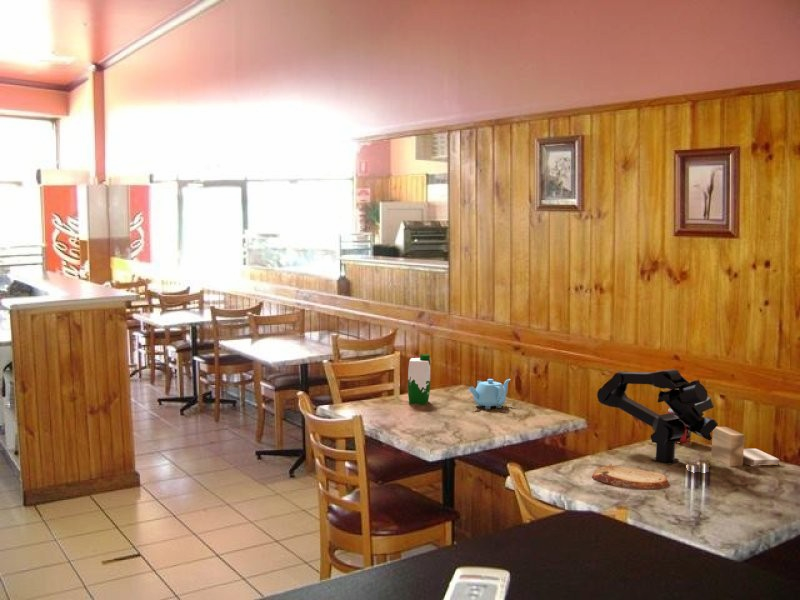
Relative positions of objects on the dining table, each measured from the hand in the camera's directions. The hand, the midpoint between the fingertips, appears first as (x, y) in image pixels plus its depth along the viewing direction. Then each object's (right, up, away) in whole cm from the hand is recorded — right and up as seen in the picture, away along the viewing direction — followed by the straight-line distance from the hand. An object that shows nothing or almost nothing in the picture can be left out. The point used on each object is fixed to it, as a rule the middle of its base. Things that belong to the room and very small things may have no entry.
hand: (710, 439), depth 276 cm
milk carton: (-92, +2, +80) cm, 122 cm away
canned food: (-2, -5, +26) cm, 27 cm away
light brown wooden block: (+6, -7, +2) cm, 10 cm away
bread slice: (-32, -9, -22) cm, 40 cm away
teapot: (-63, +1, +76) cm, 99 cm away
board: (+15, -7, +3) cm, 17 cm away
